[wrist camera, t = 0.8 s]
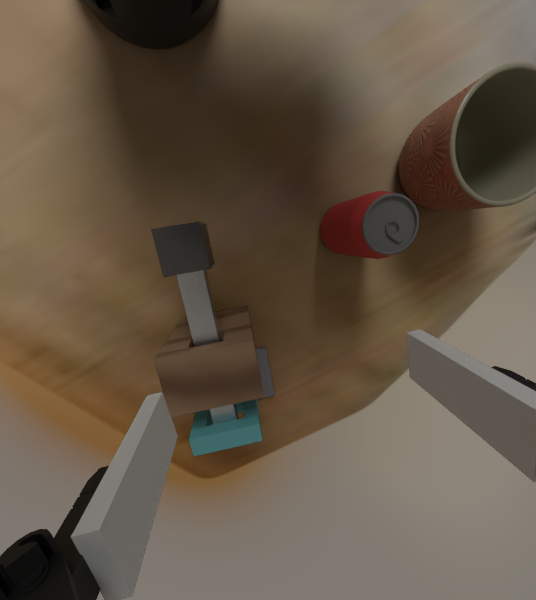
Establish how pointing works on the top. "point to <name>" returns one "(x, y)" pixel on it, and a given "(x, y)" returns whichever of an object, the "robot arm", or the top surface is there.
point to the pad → (265, 372)
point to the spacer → (225, 430)
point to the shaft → (193, 286)
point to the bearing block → (210, 366)
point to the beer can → (371, 225)
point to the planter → (476, 145)
